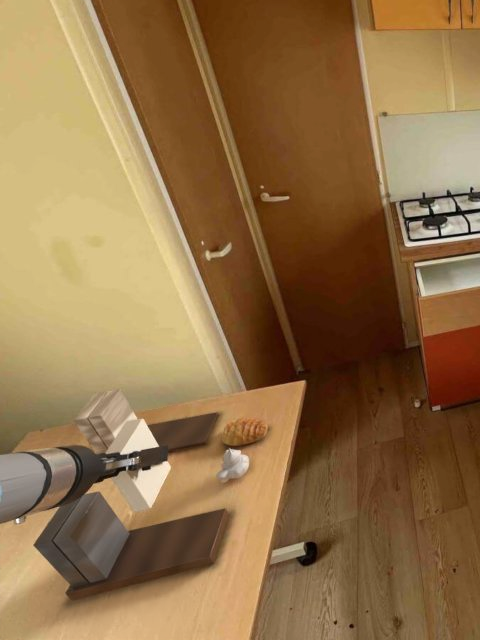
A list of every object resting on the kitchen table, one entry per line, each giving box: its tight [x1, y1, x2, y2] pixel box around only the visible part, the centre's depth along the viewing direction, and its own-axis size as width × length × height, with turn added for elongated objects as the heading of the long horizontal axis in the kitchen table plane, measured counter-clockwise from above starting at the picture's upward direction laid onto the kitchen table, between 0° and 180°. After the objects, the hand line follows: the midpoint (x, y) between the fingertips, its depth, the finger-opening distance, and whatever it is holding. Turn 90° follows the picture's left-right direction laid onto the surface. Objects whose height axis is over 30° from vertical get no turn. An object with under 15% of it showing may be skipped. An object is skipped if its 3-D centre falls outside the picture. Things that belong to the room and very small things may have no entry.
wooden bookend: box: [72, 388, 219, 454], centre depth 100 cm, size 22×9×14 cm, turn 105°
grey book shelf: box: [32, 490, 231, 602], centre depth 76 cm, size 22×9×16 cm, turn 105°
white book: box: [102, 417, 172, 513], centre depth 71 cm, size 2×8×13 cm, turn 15°
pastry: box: [221, 417, 268, 447], centre depth 103 cm, size 9×7×4 cm
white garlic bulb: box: [216, 447, 250, 483], centre depth 92 cm, size 5×7×8 cm
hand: (155, 455), depth 76 cm, fingers closed on white book, 2 cm apart
